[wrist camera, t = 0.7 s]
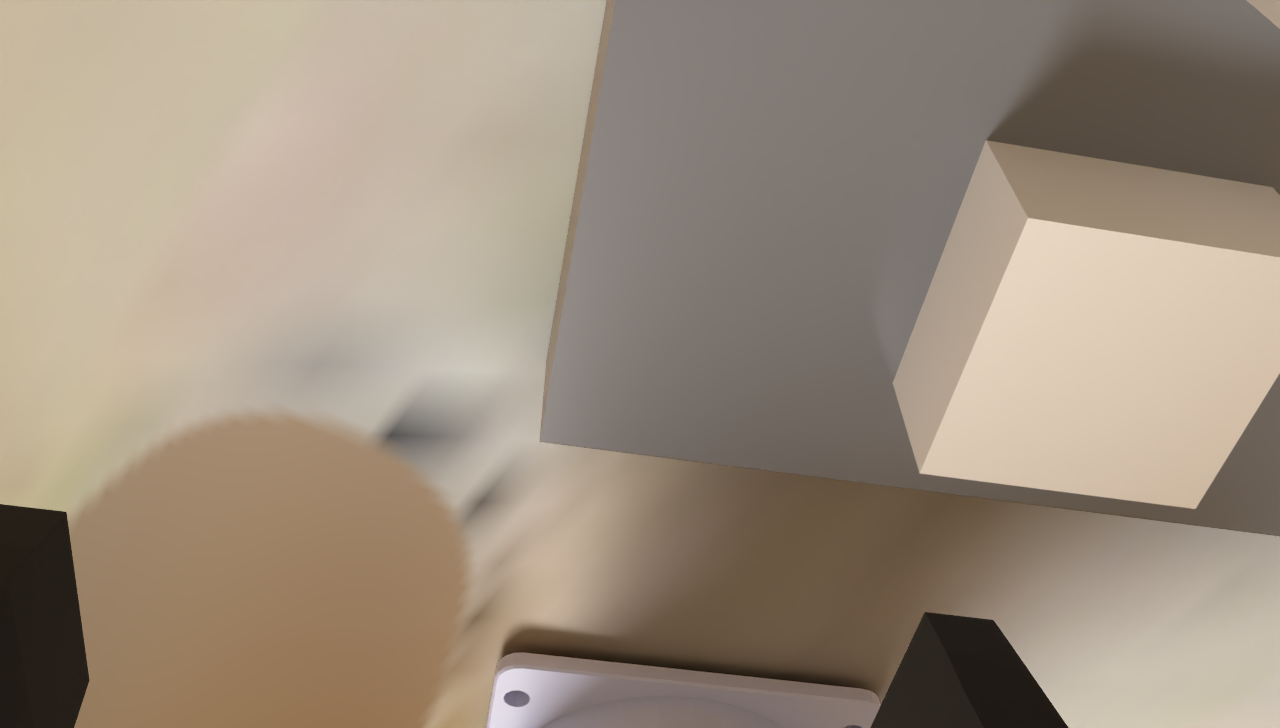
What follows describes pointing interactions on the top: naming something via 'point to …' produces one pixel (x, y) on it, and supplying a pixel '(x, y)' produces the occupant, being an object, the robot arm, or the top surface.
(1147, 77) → the board
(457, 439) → the top surface
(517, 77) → the top surface
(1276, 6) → the tile
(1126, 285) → the tile
